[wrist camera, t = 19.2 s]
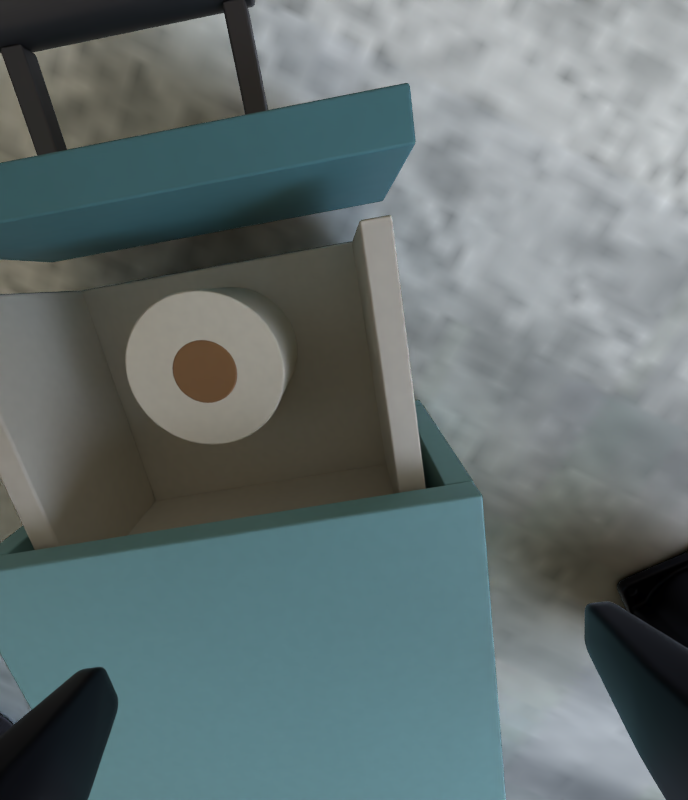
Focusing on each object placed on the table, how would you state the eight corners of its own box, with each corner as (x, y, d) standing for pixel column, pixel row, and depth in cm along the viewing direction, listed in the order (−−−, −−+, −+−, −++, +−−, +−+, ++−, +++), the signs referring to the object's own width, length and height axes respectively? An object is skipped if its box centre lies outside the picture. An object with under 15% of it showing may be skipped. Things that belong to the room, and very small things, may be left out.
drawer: (-14, 83, 14) (-318, -85, 8) (358, 7, 14) (377, -244, 7) (141, 507, 19) (39, 624, 13) (417, 462, 19) (459, 562, 12)
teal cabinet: (120, 449, 19) (-44, 577, 11) (419, 399, 19) (483, 494, 10) (197, 660, 23) (119, 870, 15) (446, 624, 23) (508, 822, 14)
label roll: (152, 327, 16) (89, 343, 12) (254, 262, 15) (224, 257, 11) (222, 426, 17) (187, 470, 13) (320, 370, 16) (313, 400, 12)
